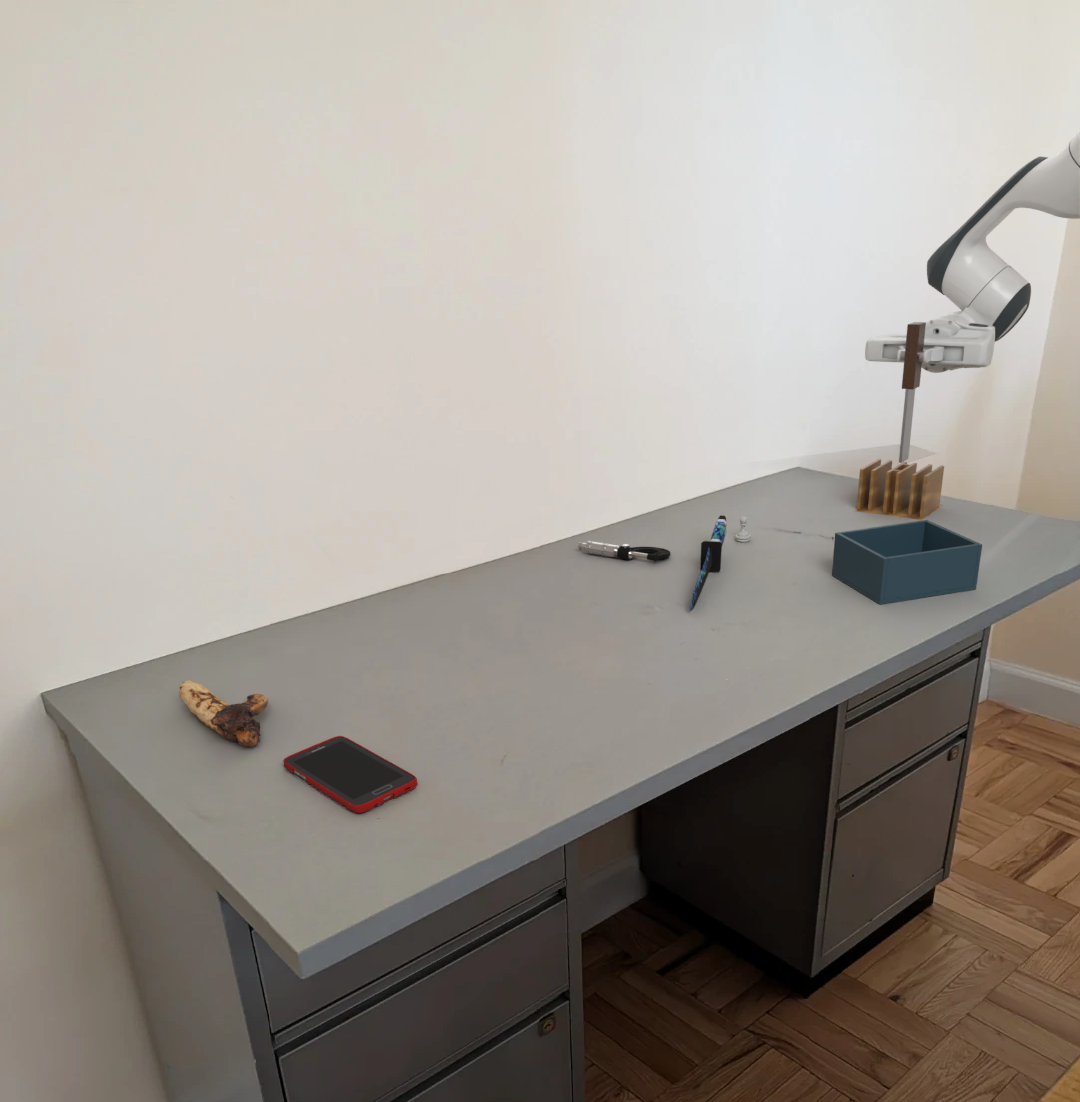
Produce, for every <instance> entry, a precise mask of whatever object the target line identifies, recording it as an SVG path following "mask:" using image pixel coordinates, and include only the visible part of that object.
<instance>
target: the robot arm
mask: <svg viewBox="0 0 1080 1102" xmlns="http://www.w3.org/2000/svg"><path fill="white" fill-rule="evenodd" d="M1015 209H1032V210H1036V211H1039V212H1043V213H1045V214H1048V215H1051V216H1053V217H1057V218H1062V219H1069V220H1070V219H1071V220H1073V219H1074V220H1075V219H1076V220H1077V219H1078V220H1079V219H1080V128H1079V129H1078V130H1077V131H1076V132H1075V134H1074V135H1073V136H1072V138H1071V139H1070V140H1069V142H1068V143H1067V145H1065V146H1064V147H1063V148H1062V149H1061V150H1060V151H1059V152H1056V154H1053V155H1051V156H1048V157H1047V156H1037V157H1035V158H1033V159H1032V160H1030V161H1028V162H1027V163H1026V164H1025V165H1023V166H1022V167H1021V168H1019V169H1018V170H1017V171H1016V172H1015V173H1014V174H1013V175H1011V176H1010V177H1009V178H1008V179H1007V180H1006V181H1005V182H1004V183H1003V184H1002V185H1001V186H1000V187H999V188H998V189H997V190H996V191H995V192H994V193H993V194H992V195H991V196H989V198H988V199H987V200H986V201H985V202H984V203H983V204H982V205H981V206H980V207H979V208H978V209H977V210H976V211H975V212H974V213H973V214H972V215H971V216H970V217H969V218H968V219H967V220H966V221H965V222H964V223H963V224H962V225H961V226H960V227H959V228H958V229H957V230H956V231H955V232H954V233H952V234H951V235H950V236H948V237H947V238H946V239H944V240H943V241H942V242H941V243H940V244H938V246H937V247H935V249H934V250H933V251H932V253H931V255H930V257H929V258H928V260H927V261H926V279H927V284H928V285H929V286H931V287H932V288H933V289H935V290H936V291H937V292H939V293H940V294H941V295H943V296H945V297H946V298H948V300H949V301H951V302H952V303H953V305H955V306H956V307H957V308H958V309H959V310H958V311H954V312H949V314H945V315H942V316H939V317H936V318H933V319H931V320H929V321H927V322H926V327H925V337H924V347H923V350H920V351H919V352H918V362H922V367H921V369H923V370H924V371H927V372H929V373H934V374H939V373H944V372H948V371H955V370H958V369H971V368H973V369H977V368H988V367H990V366H991V364H992V360H993V356H994V350H995V342H998V341H1000V340H1001V339H1002V338H1004V337H1005V336H1006V335H1007V334H1009V332H1010V331H1011V330H1012V329H1014V328H1015V326H1016V325H1017V324H1018V323H1019V322H1020V321H1021V319H1023V317H1024V315H1025V314H1026V312H1027V311H1028V309H1029V306H1030V302H1031V297H1032V286H1031V282H1029V281H1028V280H1027V279H1026V278H1025V277H1024V276H1022V275H1021V273H1019V272H1018V270H1016V269H1015V268H1014V267H1012V265H1009V263H1008V262H1006V261H1005V260H1004V259H1003V258H1001V256H999V255H998V254H997V252H995V251H993V249H991V248H990V246H989V244H988V243H987V237H988V235H989V234H991V232H993V231H994V230H995V228H997V226H999V225H1000V224H1001V223H1002V222H1003V221H1004V220H1005V219H1006V218H1007V217H1008V216H1009V215H1010V214H1011V213H1012V212H1013V211H1014V210H1015ZM906 336H907V334H897V333H896V334H895V333H894V334H883V335H878V336H874V337H870V338H868V339H867V340H866V342H865V348H864V358H865V360H866V361H868V362H876V363H877V362H879V363H880V362H881V363H882V362H883V363H884V362H885V363H902V364H904V358H905V347H906Z"/></svg>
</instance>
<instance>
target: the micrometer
mask: <svg viewBox="0 0 1080 1102" xmlns="http://www.w3.org/2000/svg"><path fill="white" fill-rule="evenodd" d="M577 549H578V550H580V551H584V552H585V553H586V554H588V555H596V556H601V557H606V558H613V559H621V560H626V561H631V560H633V558H638V559H644V560H647V561H653V562H657V561H658V560H662V559H668V558H669V557H670V556H671V551H670V550H669V549H667V548H663V547H656V546H633V547H631V545H630V544H629V543H624V544H622V545H618V544H612V543H607V542H598V541H594V540H588V541H587V542H584V541H579V542H578V543H577Z"/></svg>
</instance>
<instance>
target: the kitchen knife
mask: <svg viewBox="0 0 1080 1102" xmlns="http://www.w3.org/2000/svg"><path fill="white" fill-rule="evenodd" d="M926 323H927V322H925V321H913V322H910V323H908V324H907V327H906V335H907V336H906V347H905V358H904V363H903V369H902V370H903V371H902V381H901V389H902V390H905V392H904V400H903V401H904V402H903V413H902V414H903V415H902V422H901V433H900V445H899V453H898V454H899V456H898V463H899V464H901V463H903V462H906V461H908V460H909V457H910V456H909V455H910V446H911V436H912V425H913V416H914V405H915V395H916V389H917V388H920V385H921V376H922V362H918V352H919V351H920V350H923V347H924V337H925V327H926Z"/></svg>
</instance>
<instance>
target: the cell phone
mask: <svg viewBox="0 0 1080 1102" xmlns="http://www.w3.org/2000/svg"><path fill="white" fill-rule="evenodd" d="M282 762H283V763H282V764H283V767H284V768H285V769H286V770H288V771H289V772H290V773H292V774H295V775H296V776H297V777H299V778H301V779H303V780H304V781H305V782H306V783H307V784H308V785H310V786H312V787H313V788H315V789H316V790H318V791H320V792H321V793H322V794H325V795H326V796H327V797H329V798H331V799H332V800H334V801H336V802H337V803H338V804H340V805H342V806H343V807H346V808H347V809H348V810H350V811H352V812H354V813H356V814H362V813H366V812H368V811H370V810H372V809H374V808H376V807H379V806H381V805H383V804H384V803H385V802H387V801H389V800H392V799H395V798H397V797H400V796H402V795H403V794H405V793H408V792H410V791H412V790H414V789H416V787H417V786H418V778H417V777H416V776H415V775H414V774H412V773H411V772H409V771H407V770H405V769H404V768H402V767H400V766H398V765H396V763H393V762H391V761H389V760H388V759H385V758H384V757H382V756H380V755H379V754H377V753H375V752H373V751H372V750H370V749H368V748H367V747H364V746H362V744H359V743H357V742H355V741H353V740H352V739H350V738H348V737H346V736H344V735H337V736H334V737H330V738H329V739H326V740H323V741H321V742H319V743H316V744H314V745H312V746H309V747H307V748H305V749H302V750H300V751H297V752H294V753H292V754H290V755H288V756H286V757H284V758H283V760H282Z"/></svg>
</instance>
